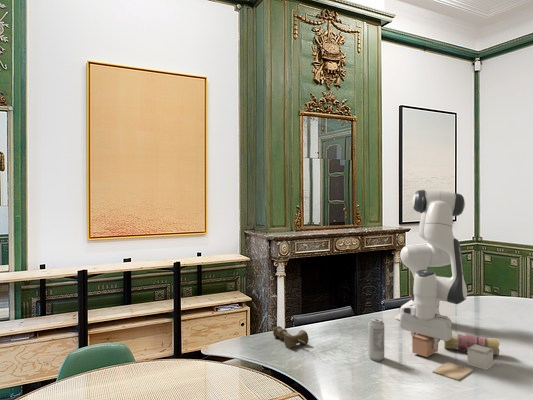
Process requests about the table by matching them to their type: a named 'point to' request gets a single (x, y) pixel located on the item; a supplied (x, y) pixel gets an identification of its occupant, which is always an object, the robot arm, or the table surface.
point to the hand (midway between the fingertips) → (425, 345)
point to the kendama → (290, 337)
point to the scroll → (472, 342)
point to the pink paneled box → (423, 345)
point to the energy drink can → (376, 339)
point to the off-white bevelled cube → (480, 356)
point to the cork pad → (453, 371)
